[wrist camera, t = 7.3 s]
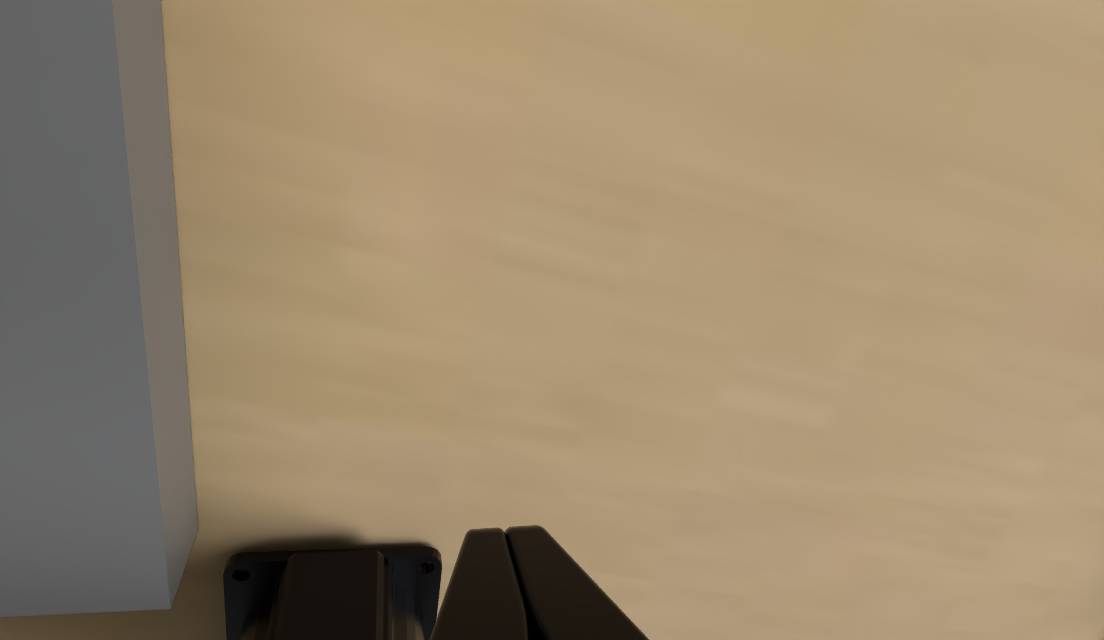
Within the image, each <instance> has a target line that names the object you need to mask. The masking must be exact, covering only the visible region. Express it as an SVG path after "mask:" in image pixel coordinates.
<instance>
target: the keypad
mask: <svg viewBox="0 0 1104 640" xmlns="http://www.w3.org/2000/svg"><path fill="white" fill-rule="evenodd" d="M197 533H198V516H197V502H196V488H195V474H194V460H193V445H192V431H191V417H190V403H189V389H188V375H187V361H186V346H185V332H184V318H183V304H182V290H181V276H180V262H179V247H178V233H177V219H176V205H175V191H174V177H173V163H172V148H171V134H170V120H169V106H168V92H167V78H166V64H165V49H164V35H163V21H162V7H161V0H0V617H19V616H39V615H60V614H81V613H101V612H122V611H142V610H163V609H171V607H172V604H173V601H174V598H175V595H176V592H177V590H178V587H179V584H180V581H181V578H182V575H183V572H184V570H185V567H186V564H187V561H188V558H189V555H190V552H191V550H192V547H193V544H194V541H195V538H196V535H197Z"/></svg>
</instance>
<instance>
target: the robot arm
mask: <svg viewBox="0 0 1104 640" xmlns="http://www.w3.org/2000/svg"><path fill="white" fill-rule="evenodd" d="M423 562H431V563H430V564H427V565H422V564H421V563H423ZM241 568H242V569H246V570H248V571H245V572H242V571H239V570H237V569H241ZM441 572H442V562H441V554H440V553H439V551H438V550H436V549H434V548H432V547H408V548H376V549H344V550H313V551H281V552H249V553H239V554H235V555H233V556H231V557H230V558H229V560H228V561H227V563H226V567H225V571H224V575H223V579H224V597H225V616H226V634H227V640H649V639H648V638H647V637H646V636H645V635H644V634H643V633H642V632H641V630H640V629H639V628H638V627H637V626H636V625H635V624H634V623H633V622H632V621H631V620H630V619H629V618H628V617H627V616H626V615H625V614H624V612H623V611H622V610H621V609H620V608H619V607H618V606H617V605H616V604H615V603H614V602H613V601H612V600H611V599H610V598H609V597H608V596H607V594H606V593H605V592H604V591H603V590H602V589H601V588H600V587H599V586H598V585H597V584H596V583H595V582H594V581H593V580H592V579H591V578H590V576H589V575H588V574H587V573H586V572H585V571H584V570H583V569H582V568H581V567H580V566H579V565H578V564H577V563H576V562H575V561H574V560H573V558H572V557H571V556H570V555H569V554H568V553H567V552H566V551H565V550H564V549H563V548H562V547H561V546H560V545H559V544H558V543H557V542H556V541H555V539H554V538H553V537H552V536H551V535H550V534H549V533H548V532H547V531H546V530H545V529H544V528H542V527H541V526H538V525H532V526H516V527H509V528H508V529H506V530H505V532H504V531H503V530H502V529H500V528H485V529H472V530H469V531H468V532H467V533H466V535H465V538H464V540H463V543H462V546H461V549H460V552H459V555H458V558H457V561H456V564H455V567H454V570H453V573H452V576H451V579H450V582H449V585H448V587H447V590H446V593H445V596H444V599H443V602H442V605H441V608H440V611H439V614H438V617H437V609H438V599H439V590H440V581H441ZM436 618H437V620H436Z"/></svg>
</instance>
